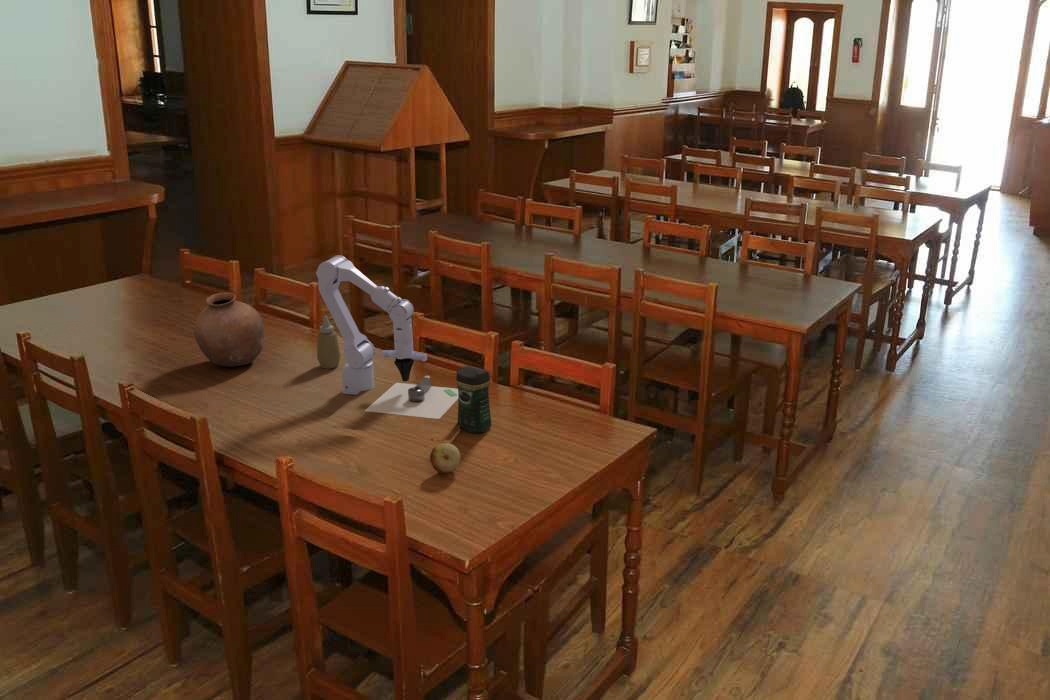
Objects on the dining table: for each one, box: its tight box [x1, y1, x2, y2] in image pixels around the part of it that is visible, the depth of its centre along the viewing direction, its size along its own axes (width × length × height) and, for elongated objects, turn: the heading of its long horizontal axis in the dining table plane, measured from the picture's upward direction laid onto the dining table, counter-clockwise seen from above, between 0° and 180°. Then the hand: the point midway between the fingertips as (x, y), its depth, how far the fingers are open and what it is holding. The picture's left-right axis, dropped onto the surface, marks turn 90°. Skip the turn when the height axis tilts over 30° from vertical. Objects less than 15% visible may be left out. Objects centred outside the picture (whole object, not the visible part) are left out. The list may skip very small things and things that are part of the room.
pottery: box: [193, 292, 265, 368], centre depth 327 cm, size 23×23×25 cm
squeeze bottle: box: [316, 315, 342, 370], centre depth 324 cm, size 8×8×18 cm
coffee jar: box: [455, 364, 492, 434], centre depth 275 cm, size 10×8×19 cm
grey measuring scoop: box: [408, 375, 432, 402], centre depth 297 cm, size 12×5×4 cm, turn 164°
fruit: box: [429, 442, 461, 474], centre depth 250 cm, size 8×8×8 cm
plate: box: [364, 382, 458, 420], centre depth 294 cm, size 24×24×2 cm
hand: (405, 380), depth 300 cm, fingers closed
